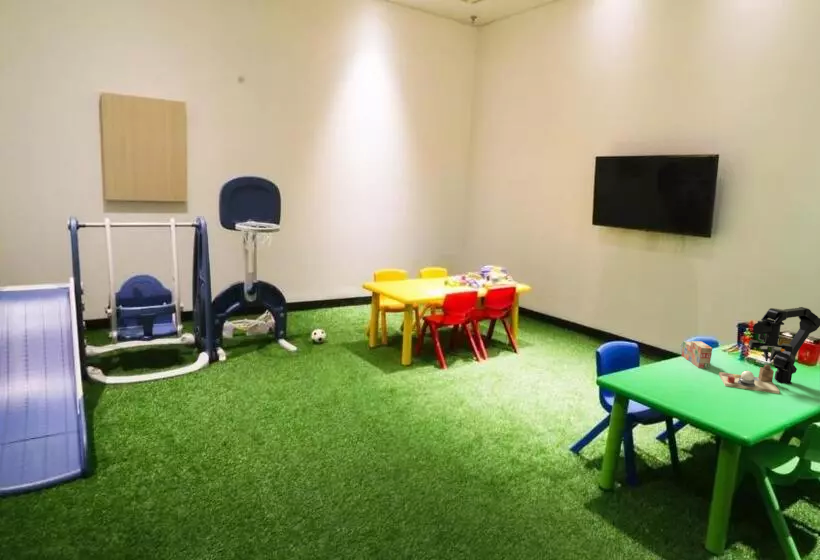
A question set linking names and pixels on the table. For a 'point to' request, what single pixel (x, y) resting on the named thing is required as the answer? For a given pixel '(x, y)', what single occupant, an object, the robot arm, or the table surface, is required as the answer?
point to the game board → (758, 385)
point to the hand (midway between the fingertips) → (768, 361)
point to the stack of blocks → (697, 353)
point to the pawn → (766, 373)
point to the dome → (747, 377)
